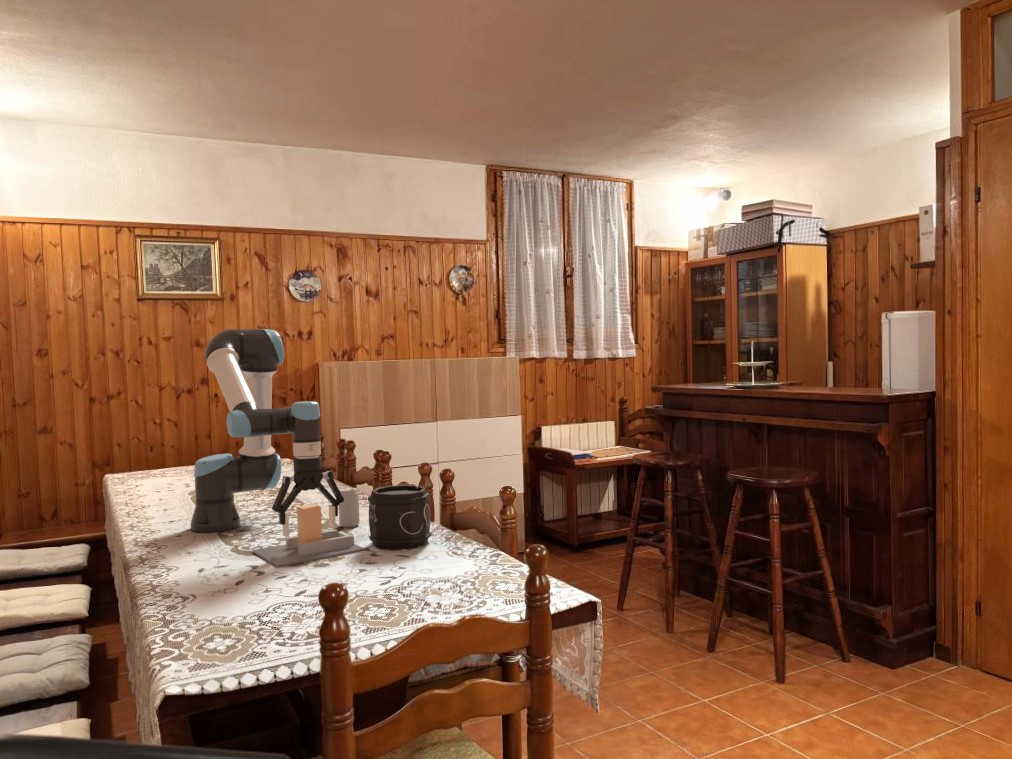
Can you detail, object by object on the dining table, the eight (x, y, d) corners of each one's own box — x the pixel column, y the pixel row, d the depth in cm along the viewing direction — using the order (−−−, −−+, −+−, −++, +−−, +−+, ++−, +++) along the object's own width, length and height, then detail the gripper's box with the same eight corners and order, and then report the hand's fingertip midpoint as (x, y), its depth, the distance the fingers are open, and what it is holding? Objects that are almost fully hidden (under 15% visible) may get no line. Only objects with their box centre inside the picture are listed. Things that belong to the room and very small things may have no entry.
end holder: (252, 552, 213) (252, 539, 213) (335, 537, 228) (335, 525, 227) (277, 567, 197) (276, 553, 196) (365, 550, 211) (364, 537, 211)
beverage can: (355, 528, 239) (353, 490, 239) (336, 528, 241) (334, 490, 240) (362, 524, 246) (361, 487, 245) (344, 523, 247) (343, 487, 246)
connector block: (298, 548, 213) (296, 506, 212) (315, 545, 216) (313, 504, 215) (305, 552, 209) (303, 509, 208) (322, 549, 212) (320, 506, 211)
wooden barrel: (443, 538, 224) (442, 485, 223) (411, 553, 207) (409, 496, 207) (392, 533, 231) (391, 482, 231) (357, 547, 215) (355, 492, 215)
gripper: (267, 462, 201) (270, 541, 202) (354, 453, 216) (356, 527, 217) (258, 459, 207) (261, 536, 208) (343, 451, 222) (345, 523, 223)
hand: (309, 532), depth 212 cm, fingers open, 13 cm apart
